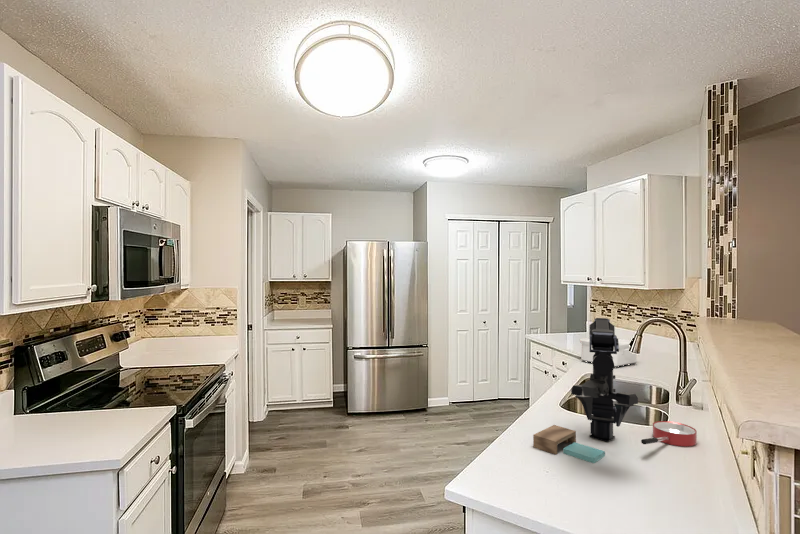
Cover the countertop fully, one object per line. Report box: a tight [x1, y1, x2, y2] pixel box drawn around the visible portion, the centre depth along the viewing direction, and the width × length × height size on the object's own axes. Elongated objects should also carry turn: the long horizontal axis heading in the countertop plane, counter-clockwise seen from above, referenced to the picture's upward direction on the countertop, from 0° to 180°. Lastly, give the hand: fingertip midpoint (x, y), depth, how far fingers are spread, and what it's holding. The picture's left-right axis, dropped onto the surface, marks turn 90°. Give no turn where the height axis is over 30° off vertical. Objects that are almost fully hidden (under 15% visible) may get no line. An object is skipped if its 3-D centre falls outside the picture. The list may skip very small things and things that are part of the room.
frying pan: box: [640, 420, 698, 448], centre depth 145 cm, size 32×13×6 cm, turn 134°
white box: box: [579, 337, 637, 368], centre depth 279 cm, size 34×29×15 cm
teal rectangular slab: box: [562, 441, 606, 464], centre depth 139 cm, size 10×8×2 cm
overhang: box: [532, 424, 577, 456], centre depth 146 cm, size 8×14×4 cm, turn 132°
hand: (603, 422), depth 132 cm, fingers open, 9 cm apart
